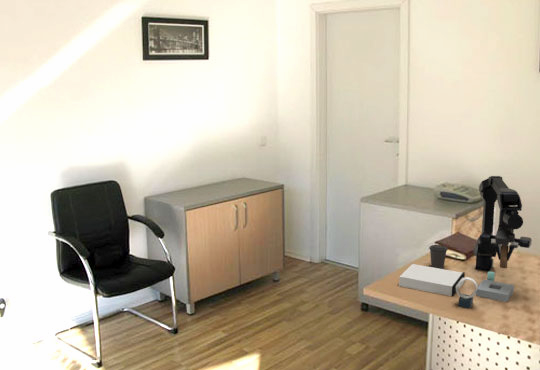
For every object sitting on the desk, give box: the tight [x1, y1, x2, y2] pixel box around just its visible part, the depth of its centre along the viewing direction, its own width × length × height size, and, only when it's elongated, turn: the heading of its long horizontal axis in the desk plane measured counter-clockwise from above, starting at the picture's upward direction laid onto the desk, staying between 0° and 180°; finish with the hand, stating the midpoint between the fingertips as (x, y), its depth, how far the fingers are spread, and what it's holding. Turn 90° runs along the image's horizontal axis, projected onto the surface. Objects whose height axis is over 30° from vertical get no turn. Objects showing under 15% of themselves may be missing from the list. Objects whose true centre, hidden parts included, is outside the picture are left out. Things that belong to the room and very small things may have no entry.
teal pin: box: [486, 270, 496, 281], centre depth 255 cm, size 3×3×5 cm
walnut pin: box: [499, 244, 510, 269], centre depth 244 cm, size 3×3×9 cm
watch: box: [455, 276, 479, 310], centre depth 234 cm, size 6×8×11 cm
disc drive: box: [398, 263, 466, 298], centre depth 255 cm, size 18×22×5 cm
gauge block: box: [475, 278, 515, 303], centre depth 245 cm, size 12×12×3 cm
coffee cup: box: [428, 244, 448, 269], centre depth 274 cm, size 8×8×10 cm
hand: (503, 260), depth 245 cm, fingers closed on walnut pin, 3 cm apart
